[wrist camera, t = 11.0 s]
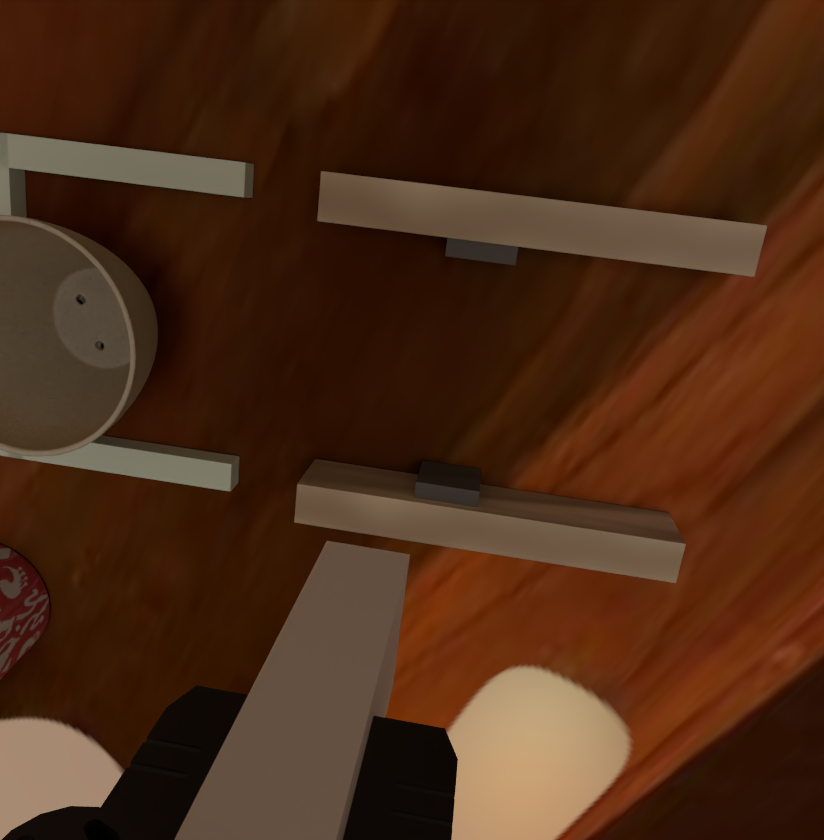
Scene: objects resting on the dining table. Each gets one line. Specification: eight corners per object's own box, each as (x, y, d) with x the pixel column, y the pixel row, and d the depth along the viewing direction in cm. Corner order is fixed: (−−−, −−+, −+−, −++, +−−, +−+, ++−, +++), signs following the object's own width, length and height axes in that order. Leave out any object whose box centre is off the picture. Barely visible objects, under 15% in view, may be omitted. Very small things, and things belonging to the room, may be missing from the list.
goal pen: (-7, 131, 34) (-24, 129, 33) (253, 163, 33) (245, 162, 32) (9, 447, 39) (-5, 454, 38) (238, 483, 38) (230, 491, 37)
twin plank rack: (338, 174, 33) (321, 170, 30) (738, 223, 32) (767, 225, 29) (312, 494, 38) (294, 522, 35) (659, 548, 37) (675, 583, 33)
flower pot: (240, 356, 36) (180, 391, 29) (87, 442, 39) (0, 493, 32) (128, 173, 34) (36, 165, 27) (-26, 275, 37) (-145, 291, 30)
